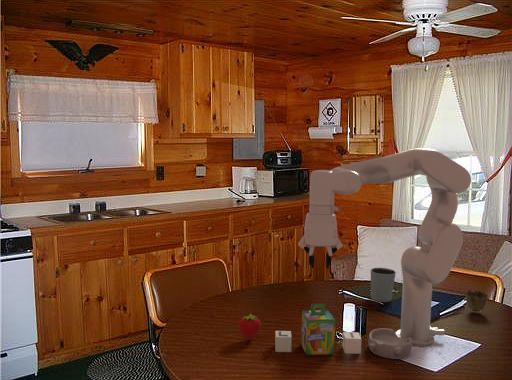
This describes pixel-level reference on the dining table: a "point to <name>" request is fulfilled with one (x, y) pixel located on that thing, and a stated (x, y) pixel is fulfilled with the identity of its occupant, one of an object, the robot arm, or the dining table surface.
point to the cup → (476, 301)
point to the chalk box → (318, 331)
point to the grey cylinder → (382, 284)
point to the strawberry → (249, 326)
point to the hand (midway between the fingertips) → (319, 266)
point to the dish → (389, 344)
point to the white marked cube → (283, 341)
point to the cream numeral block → (352, 342)
